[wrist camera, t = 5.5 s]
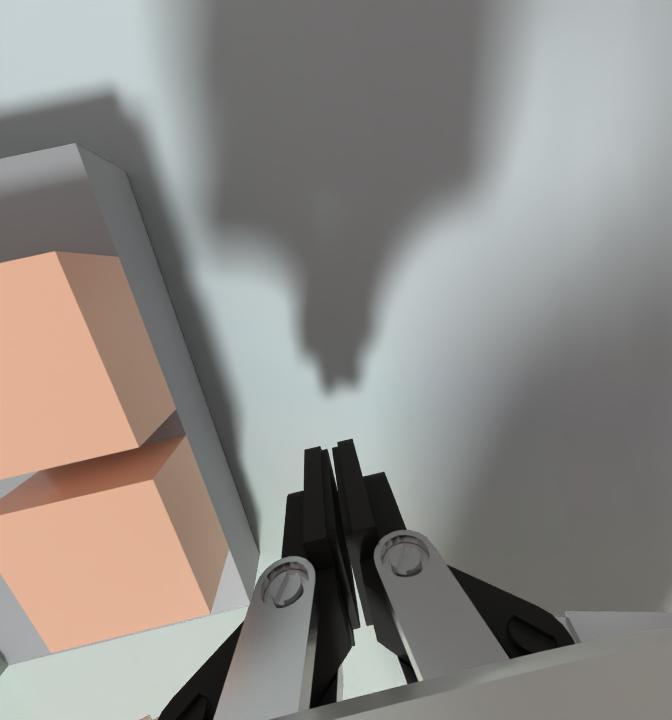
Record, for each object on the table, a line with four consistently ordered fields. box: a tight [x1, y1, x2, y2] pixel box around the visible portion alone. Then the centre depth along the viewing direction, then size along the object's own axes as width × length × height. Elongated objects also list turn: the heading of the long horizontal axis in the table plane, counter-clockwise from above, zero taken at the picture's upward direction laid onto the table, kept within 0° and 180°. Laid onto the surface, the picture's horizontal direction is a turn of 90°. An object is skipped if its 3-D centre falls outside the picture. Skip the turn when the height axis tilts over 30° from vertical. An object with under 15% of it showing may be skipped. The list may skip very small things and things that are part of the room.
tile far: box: [0, 435, 229, 653], centre depth 11 cm, size 5×5×2 cm
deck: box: [0, 143, 260, 665], centre depth 12 cm, size 10×17×2 cm, turn 12°
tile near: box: [0, 251, 176, 480], centre depth 9 cm, size 5×5×2 cm
